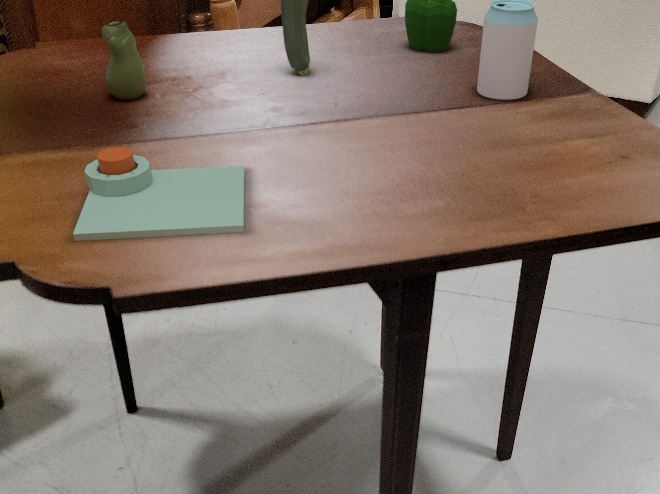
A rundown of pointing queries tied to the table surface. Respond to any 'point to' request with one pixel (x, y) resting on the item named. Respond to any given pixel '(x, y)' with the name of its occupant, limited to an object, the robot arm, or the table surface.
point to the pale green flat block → (161, 202)
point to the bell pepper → (430, 24)
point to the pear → (123, 63)
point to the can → (507, 49)
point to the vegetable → (296, 34)
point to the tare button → (116, 161)
